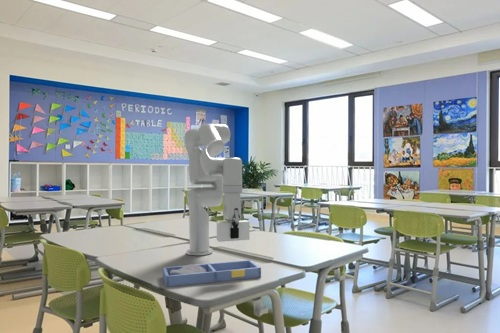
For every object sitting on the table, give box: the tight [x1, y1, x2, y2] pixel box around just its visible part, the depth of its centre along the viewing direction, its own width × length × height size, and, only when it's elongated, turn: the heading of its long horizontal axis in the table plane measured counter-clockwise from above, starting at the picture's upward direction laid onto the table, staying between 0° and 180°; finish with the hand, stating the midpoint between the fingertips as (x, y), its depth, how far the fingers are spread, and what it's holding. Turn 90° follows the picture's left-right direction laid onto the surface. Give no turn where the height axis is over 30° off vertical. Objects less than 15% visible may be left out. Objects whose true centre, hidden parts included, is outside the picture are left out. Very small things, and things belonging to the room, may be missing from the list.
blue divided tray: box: [162, 259, 262, 287], centre depth 146 cm, size 13×35×4 cm, turn 108°
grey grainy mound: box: [169, 263, 206, 276], centre depth 143 cm, size 12×5×10 cm
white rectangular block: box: [216, 219, 250, 243], centre depth 149 cm, size 4×12×7 cm, turn 108°
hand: (232, 236), depth 149 cm, fingers closed on white rectangular block, 4 cm apart
